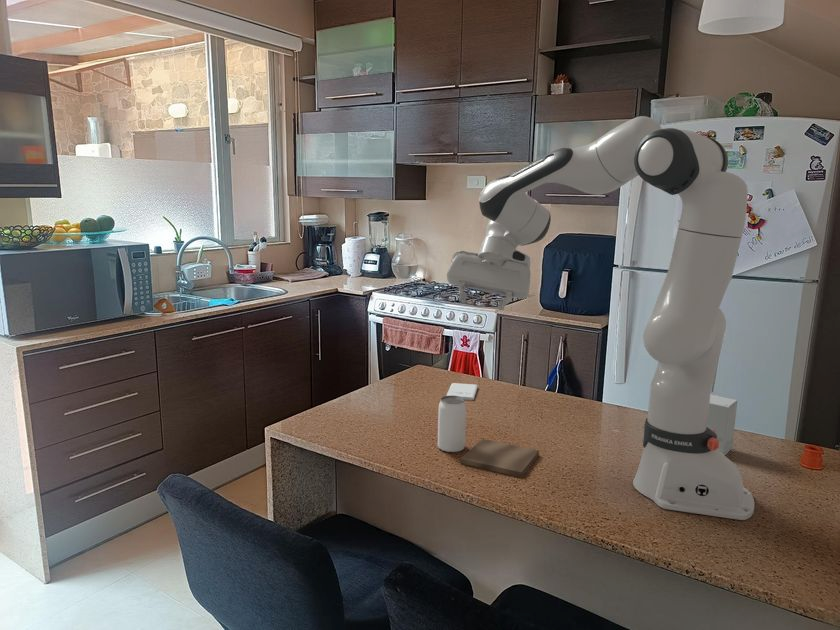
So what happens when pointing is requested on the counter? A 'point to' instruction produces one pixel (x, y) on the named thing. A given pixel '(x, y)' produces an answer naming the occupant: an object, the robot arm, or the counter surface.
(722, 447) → the supplement box
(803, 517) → the counter surface
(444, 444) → the can
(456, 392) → the external hard drive
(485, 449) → the walnut board
